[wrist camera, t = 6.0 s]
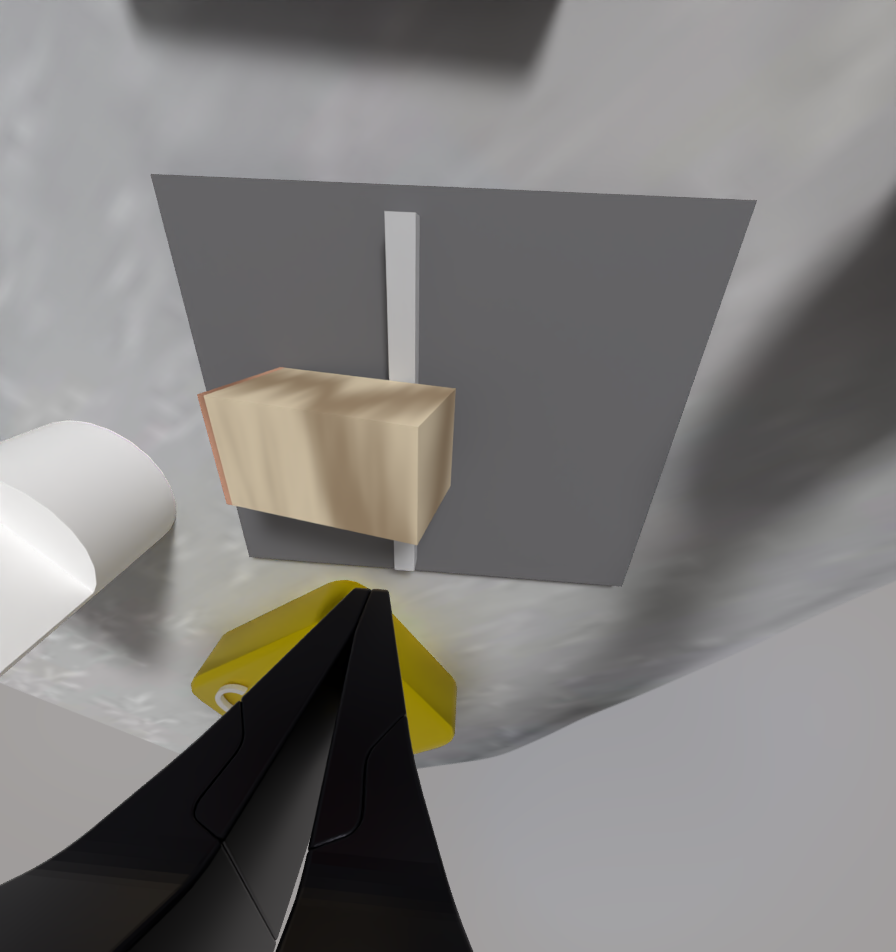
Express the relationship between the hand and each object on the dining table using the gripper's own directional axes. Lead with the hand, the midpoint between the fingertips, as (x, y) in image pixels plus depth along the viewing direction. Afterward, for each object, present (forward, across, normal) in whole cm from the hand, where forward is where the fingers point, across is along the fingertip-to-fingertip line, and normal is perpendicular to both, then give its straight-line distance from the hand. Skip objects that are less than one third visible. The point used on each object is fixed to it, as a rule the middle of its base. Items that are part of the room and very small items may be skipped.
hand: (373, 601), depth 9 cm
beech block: (+8, -1, 0) cm, 8 cm away
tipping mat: (+13, 0, 0) cm, 13 cm away
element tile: (+14, +7, +22) cm, 27 cm away
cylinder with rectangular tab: (+13, +20, +6) cm, 25 cm away
